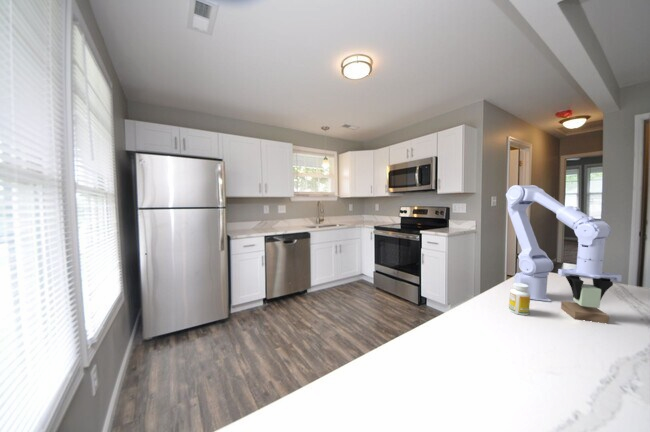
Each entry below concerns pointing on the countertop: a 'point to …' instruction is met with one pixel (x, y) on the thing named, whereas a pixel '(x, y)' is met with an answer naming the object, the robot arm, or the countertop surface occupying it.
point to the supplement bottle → (519, 299)
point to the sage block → (589, 296)
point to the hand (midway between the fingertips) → (586, 299)
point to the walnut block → (584, 312)
